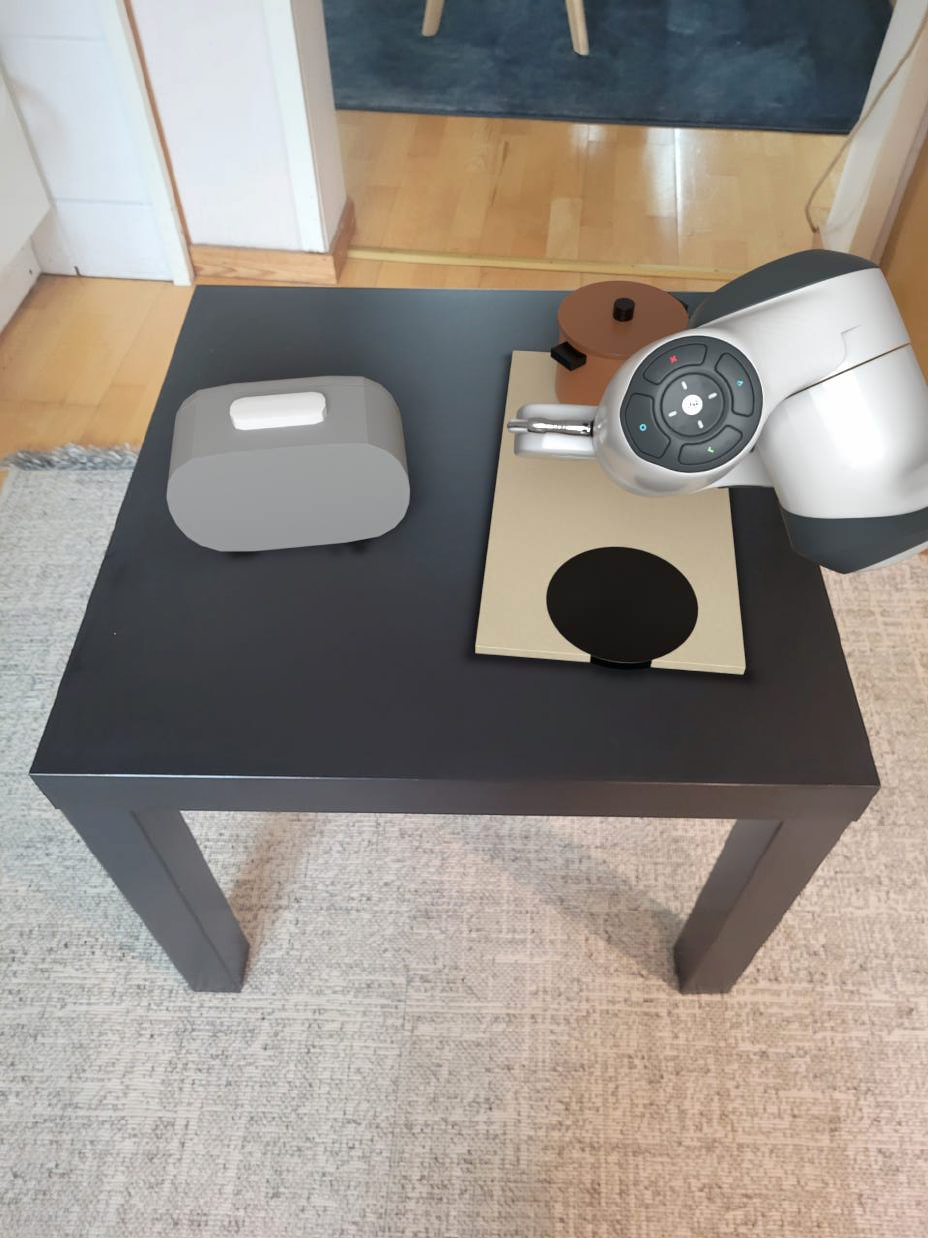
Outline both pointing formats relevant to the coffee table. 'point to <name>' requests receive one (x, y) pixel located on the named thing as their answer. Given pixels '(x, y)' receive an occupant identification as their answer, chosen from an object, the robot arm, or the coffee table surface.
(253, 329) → the coffee table surface
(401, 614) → the coffee table surface
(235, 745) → the coffee table surface
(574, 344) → the pot
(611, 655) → the black round disc
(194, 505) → the alarm clock
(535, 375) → the hob
